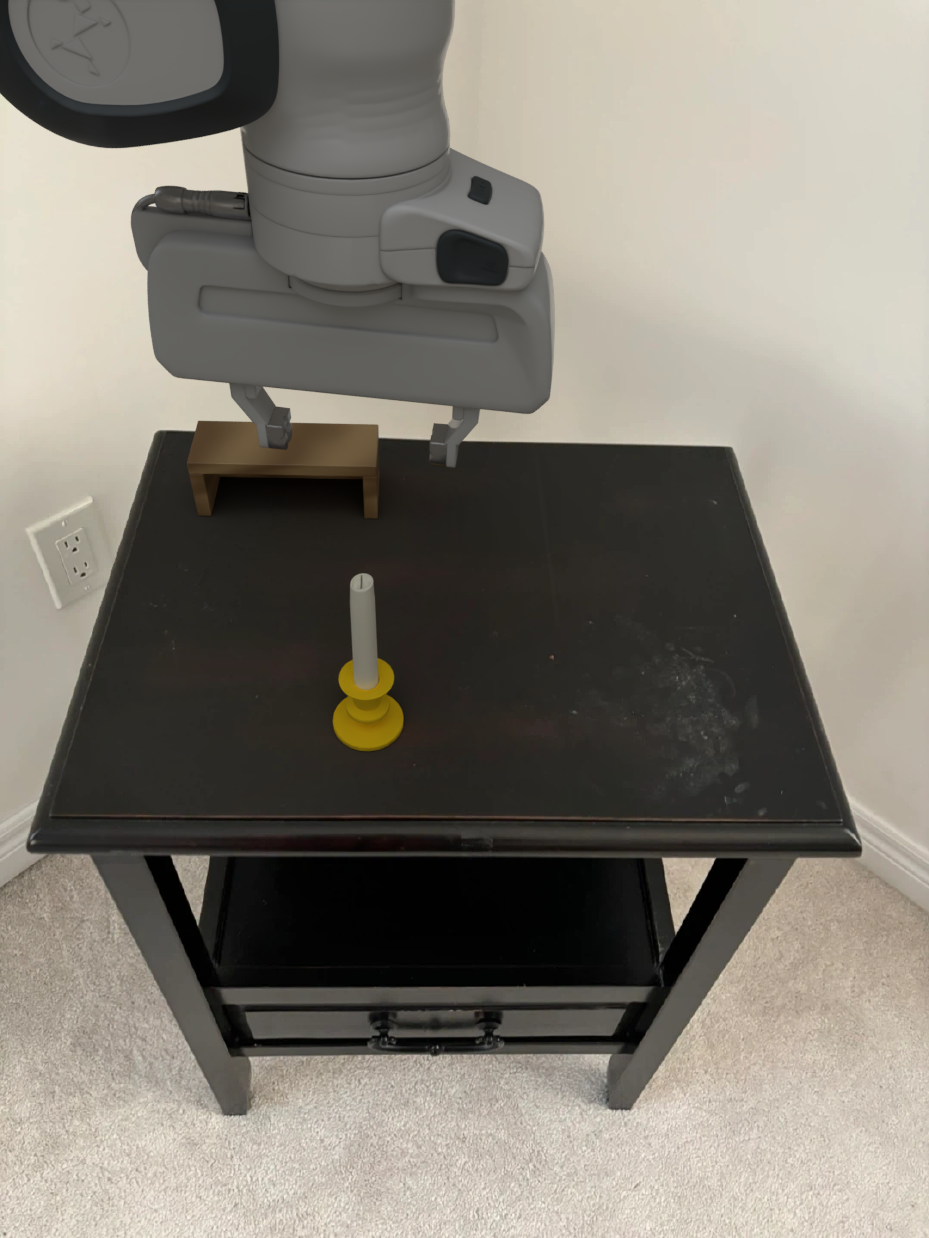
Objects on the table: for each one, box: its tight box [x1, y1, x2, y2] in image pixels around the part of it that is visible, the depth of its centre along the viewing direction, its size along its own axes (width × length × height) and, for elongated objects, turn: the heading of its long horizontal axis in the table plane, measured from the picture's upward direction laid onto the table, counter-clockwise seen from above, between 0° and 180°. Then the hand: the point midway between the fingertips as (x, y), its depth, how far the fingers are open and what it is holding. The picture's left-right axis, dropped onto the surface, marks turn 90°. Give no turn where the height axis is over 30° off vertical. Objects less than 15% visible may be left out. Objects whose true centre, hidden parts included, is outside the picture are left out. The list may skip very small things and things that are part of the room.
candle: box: [332, 572, 405, 752], centre depth 63 cm, size 5×5×16 cm
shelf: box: [186, 420, 381, 520], centre depth 83 cm, size 16×6×6 cm, turn 92°
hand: (360, 451), depth 52 cm, fingers open, 8 cm apart
